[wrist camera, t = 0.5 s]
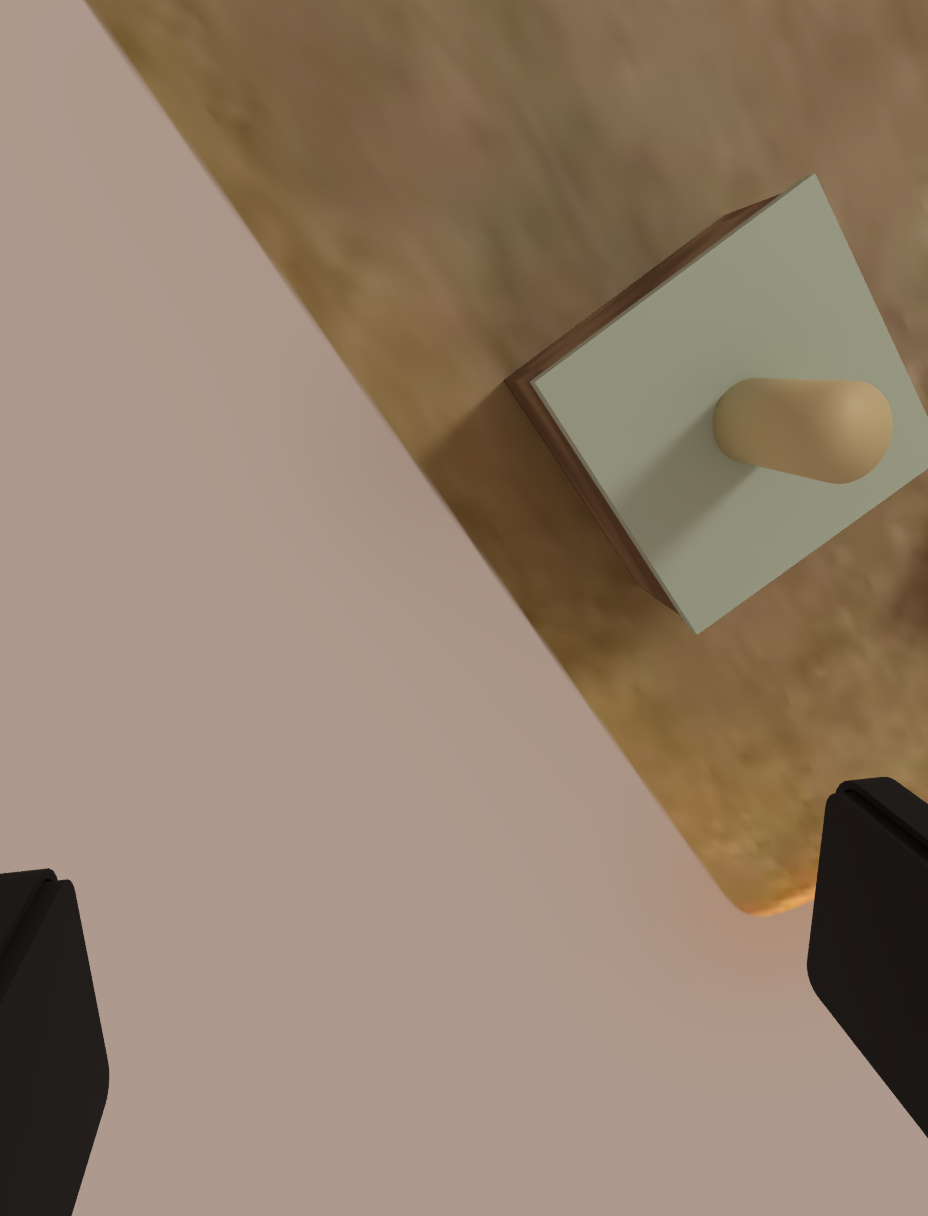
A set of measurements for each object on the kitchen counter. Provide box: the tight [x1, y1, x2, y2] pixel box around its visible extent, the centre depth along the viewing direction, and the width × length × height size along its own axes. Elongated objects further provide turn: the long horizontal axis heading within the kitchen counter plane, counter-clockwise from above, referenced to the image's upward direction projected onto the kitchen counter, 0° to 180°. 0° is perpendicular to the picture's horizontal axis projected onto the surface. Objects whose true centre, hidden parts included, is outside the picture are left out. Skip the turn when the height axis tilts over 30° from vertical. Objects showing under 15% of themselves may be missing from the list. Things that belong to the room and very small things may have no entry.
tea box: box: [504, 194, 780, 615], centre depth 35 cm, size 12×12×6 cm
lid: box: [530, 173, 928, 635], centre depth 29 cm, size 12×12×7 cm
